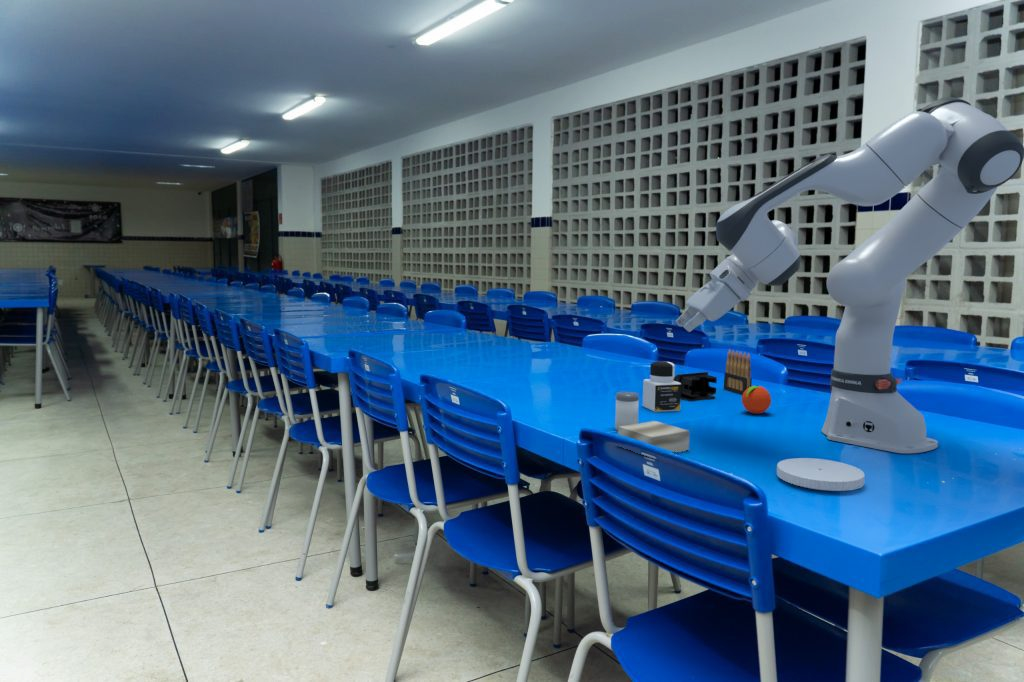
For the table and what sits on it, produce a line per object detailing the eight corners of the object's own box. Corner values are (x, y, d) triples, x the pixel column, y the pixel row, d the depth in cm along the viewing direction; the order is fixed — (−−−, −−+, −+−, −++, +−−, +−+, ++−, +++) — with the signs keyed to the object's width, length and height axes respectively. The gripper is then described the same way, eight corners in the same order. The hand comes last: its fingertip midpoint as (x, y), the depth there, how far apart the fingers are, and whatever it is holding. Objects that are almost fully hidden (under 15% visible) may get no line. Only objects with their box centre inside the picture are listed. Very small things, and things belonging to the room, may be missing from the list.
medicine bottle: (654, 412, 180) (656, 364, 178) (642, 406, 187) (643, 360, 185) (680, 410, 182) (682, 363, 180) (667, 405, 189) (668, 359, 187)
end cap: (699, 394, 204) (700, 370, 203) (717, 398, 198) (718, 374, 197) (671, 397, 200) (672, 372, 199) (688, 401, 193) (689, 376, 193)
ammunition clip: (723, 389, 211) (725, 348, 210) (728, 389, 212) (730, 348, 210) (745, 396, 201) (747, 353, 200) (751, 396, 202) (753, 353, 200)
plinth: (688, 450, 145) (689, 430, 145) (651, 457, 140) (652, 437, 139) (654, 439, 154) (654, 420, 153) (617, 445, 148) (618, 426, 148)
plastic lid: (767, 486, 124) (768, 472, 124) (786, 466, 136) (787, 453, 135) (856, 502, 116) (857, 487, 116) (869, 480, 128) (870, 466, 128)
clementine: (758, 418, 174) (759, 389, 173) (732, 413, 179) (734, 385, 179) (776, 414, 179) (777, 385, 178) (751, 409, 184) (752, 381, 184)
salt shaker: (642, 430, 162) (643, 394, 161) (625, 432, 159) (626, 397, 158) (627, 425, 166) (628, 391, 165) (610, 428, 163) (611, 393, 162)
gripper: (709, 270, 166) (664, 312, 168) (731, 273, 146) (680, 321, 148) (728, 290, 167) (683, 331, 168) (752, 296, 146) (701, 343, 148)
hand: (681, 326), depth 158 cm, fingers open, 8 cm apart
